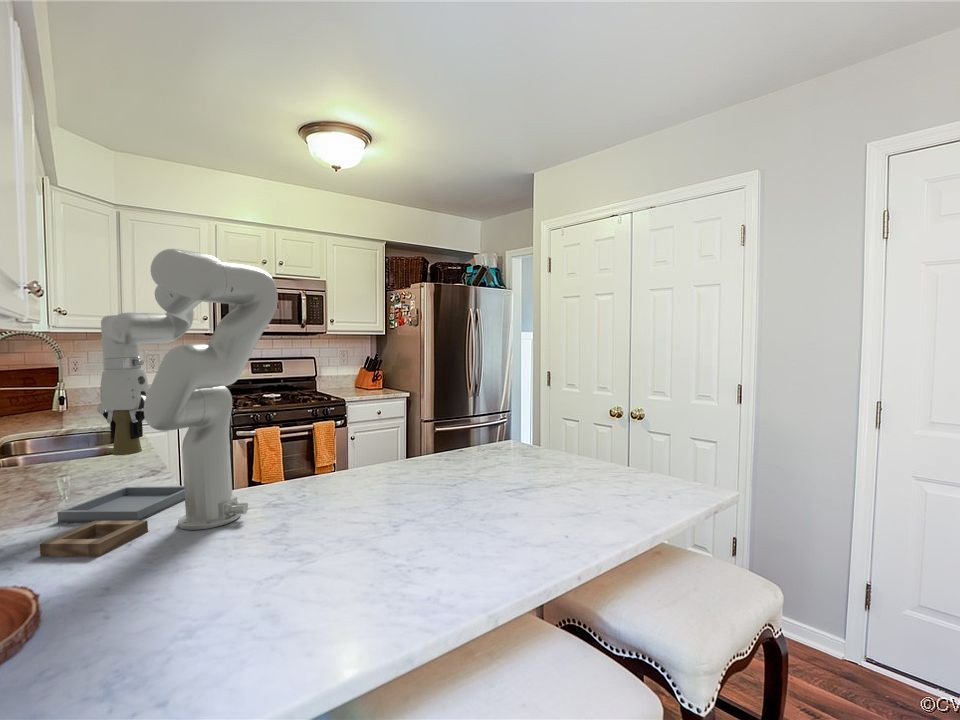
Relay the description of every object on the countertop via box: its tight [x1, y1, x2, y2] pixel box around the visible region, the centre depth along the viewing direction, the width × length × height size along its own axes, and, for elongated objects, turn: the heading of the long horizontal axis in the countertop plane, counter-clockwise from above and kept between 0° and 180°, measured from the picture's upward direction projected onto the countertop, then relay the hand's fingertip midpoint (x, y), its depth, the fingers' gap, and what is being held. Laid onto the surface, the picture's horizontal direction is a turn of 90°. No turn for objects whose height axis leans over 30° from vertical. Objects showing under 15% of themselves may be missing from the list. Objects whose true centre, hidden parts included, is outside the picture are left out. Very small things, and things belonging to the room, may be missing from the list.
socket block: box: [39, 519, 149, 557], centre depth 102 cm, size 12×12×2 cm
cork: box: [112, 411, 143, 456], centre depth 125 cm, size 6×6×11 cm
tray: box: [56, 485, 185, 524], centre depth 125 cm, size 20×20×2 cm
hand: (127, 437), depth 125 cm, fingers closed on cork, 4 cm apart
